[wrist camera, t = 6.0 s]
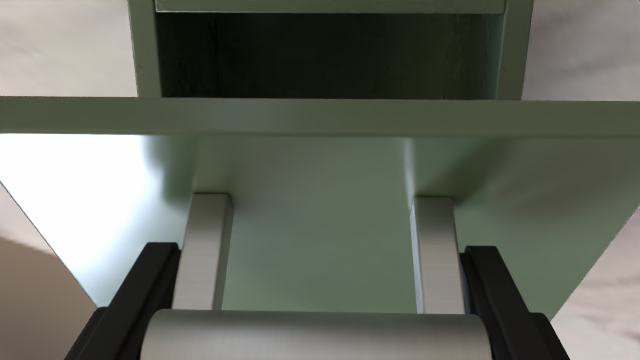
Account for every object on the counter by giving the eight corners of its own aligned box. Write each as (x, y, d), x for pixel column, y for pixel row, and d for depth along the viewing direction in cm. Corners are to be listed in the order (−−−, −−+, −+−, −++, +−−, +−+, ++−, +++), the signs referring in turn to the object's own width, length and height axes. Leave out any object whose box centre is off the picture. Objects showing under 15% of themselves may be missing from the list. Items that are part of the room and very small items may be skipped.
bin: (198, -30, 26) (124, -17, 17) (466, -29, 26) (536, -16, 17) (217, 248, 31) (167, 374, 22) (442, 252, 31) (486, 380, 22)
